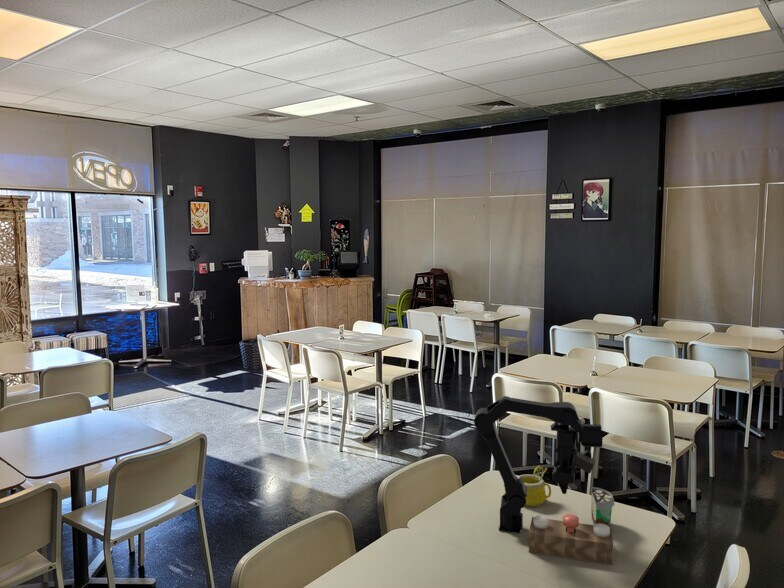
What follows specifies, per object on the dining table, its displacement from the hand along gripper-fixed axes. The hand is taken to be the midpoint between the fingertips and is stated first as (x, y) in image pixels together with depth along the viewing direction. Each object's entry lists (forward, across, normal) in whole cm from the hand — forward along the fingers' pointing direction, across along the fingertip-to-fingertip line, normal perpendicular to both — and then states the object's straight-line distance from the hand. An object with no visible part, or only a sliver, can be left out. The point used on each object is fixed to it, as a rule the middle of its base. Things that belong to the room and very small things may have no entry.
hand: (564, 493), depth 180 cm
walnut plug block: (+13, -10, -3) cm, 16 cm away
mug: (+13, +19, +12) cm, 26 cm away
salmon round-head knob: (+11, -10, -3) cm, 15 cm away
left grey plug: (+12, -10, +6) cm, 17 cm away
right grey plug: (+12, -9, -11) cm, 19 cm away
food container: (+13, +9, -12) cm, 19 cm away
